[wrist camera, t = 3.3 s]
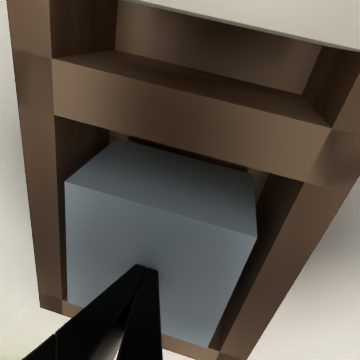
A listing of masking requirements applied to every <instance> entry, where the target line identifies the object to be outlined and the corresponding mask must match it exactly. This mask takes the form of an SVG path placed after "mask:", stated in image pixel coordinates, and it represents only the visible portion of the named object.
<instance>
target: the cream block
mask: <svg viewBox="0 0 360 360" xmlns="http://www.w3.org/2000/svg"><path fill="white" fill-rule="evenodd" d="M123 1H128V2H132V3H137V4H141V5H146V6H150V7H154V8H159V9H163V10H168V11H172V12H177V13H181V14H186V15H190V16H194V17H199V18H203V19H208V20H212V21H217V22H221V23H226V24H230V25H235V26H239V27H243V28H248V29H252V30H257V31H261V32H266V33H270V34H275V35H279V36H283V37H288V38H292V39H297V40H301V41H306V42H310V43H315V44H319V45H323V46H328V47H334V48H339V49H345V50H351V51H356V52H360V0H123Z"/></svg>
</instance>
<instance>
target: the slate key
mask: <svg viewBox="0 0 360 360" xmlns="http://www.w3.org/2000/svg"><path fill="white" fill-rule="evenodd" d="M65 218H66V256H67V293H68V303H71V304H74V305H77V306H80V307H83V308H84V307H85V306H87V305H88V304H89V303H90V302H91V301H92V300H94V299H95V298H96V297H97V296H98V295H100V294H101V293H102V292H103V291H104V290H105V289H107V288H108V287H109V286H110V285H111V284H112V283H114V282H115V281H116V280H117V279H118V278H119V277H121V276H122V275H123V274H124V273H125V272H127V271H128V270H129V269H130V268H131V267H132V266H134V265H135V264H139V265H142V266H145V267H146V268H152V269H155V270H157V271H158V274H159V295H160V315H161V333H162V334H165V335H168V336H171V337H174V338H177V339H180V340H183V341H186V342H189V343H192V344H195V345H198V346H201V347H204V348H208V345H209V343H210V341H211V339H212V337H213V334H214V332H215V330H216V328H217V326H218V323H219V321H220V319H221V317H222V314H223V312H224V310H225V308H226V306H227V303H228V301H229V299H230V297H231V295H232V292H233V290H234V288H235V286H236V283H237V281H238V279H239V277H240V275H241V272H242V270H243V268H244V266H245V264H246V261H247V259H248V257H249V255H250V253H251V250H252V248H253V246H254V244H255V241H256V239H257V224H256V206H255V189H254V175H253V174H249V173H245V172H241V171H238V170H234V169H230V168H227V167H223V166H219V165H216V164H212V163H208V162H205V161H201V160H197V159H193V158H190V157H186V156H182V155H179V154H175V153H171V152H168V151H164V150H160V149H157V148H153V147H149V146H145V145H142V144H138V143H134V142H131V141H127V140H123V139H120V138H117V139H115V140H114V141H113V142H112V143H110V144H109V145H108V146H107V147H106V148H104V149H103V150H102V151H101V152H100V153H98V154H97V155H96V156H95V157H94V158H92V159H91V160H90V161H89V162H88V163H86V164H85V165H84V166H83V167H82V168H80V169H79V170H78V171H77V172H75V173H74V174H73V175H72V176H71V177H69V178H68V179H67V180H66V181H65Z"/></svg>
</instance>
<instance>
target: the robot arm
mask: <svg viewBox="0 0 360 360" xmlns="http://www.w3.org/2000/svg"><path fill="white" fill-rule="evenodd" d="M119 347H120V348H119ZM118 349H119V352H118V356H117V359H116V360H163V356H162V336H161V315H160V295H159V274H158V271H157V270H155V269H152V268H146V267H145V266H142V265H139V264H135V265H134V266H132V267H131V268H130V269H129V270H128V271H127V272H125V273H124V274H123V275H122V276H121V277H119V278H118V279H117V280H116V281H115V282H114V283H112V284H111V285H110V286H109V287H108V288H107V289H105V290H104V291H103V292H102V293H101V294H100V295H98V296H97V297H96V298H95V299H94V300H92V301H91V302H90V303H89V304H88V305H87V306H85V307H84V308H83V309H82V310H81V311H80V312H78V313H77V314H76V315H75V316H74V317H72V318H71V319H70V320H69V321H68V322H67V323H65V324H64V325H63V326H62V327H61V328H60V329H58V330H57V331H56V332H55V334H52V335H51V336H50V337H49V338H48V339H46V340H45V341H44V342H43V343H42V344H41V345H39V346H38V347H37V348H36V349H34V350H33V351H32V352H31V353H29V354H28V355H27V356H26V357H24V358H23V359H22V360H113V359H114V357H115V355H116V353H117V351H118Z"/></svg>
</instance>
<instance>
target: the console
mask: <svg viewBox="0 0 360 360" xmlns="http://www.w3.org/2000/svg"><path fill="white" fill-rule="evenodd" d="M6 1H7V10H8V19H9V28H10V38H11V47H12V56H13V65H14V74H15V83H16V92H17V101H18V110H19V119H20V128H21V137H22V146H23V155H24V164H25V173H26V183H27V192H28V201H29V210H30V219H31V228H32V237H33V246H34V255H35V264H36V273H37V282H38V291H39V300H40V307H41V308H44V309H47V310H50V311H53V312H56V313H59V314H62V315H64V316H67V317H70V318H72V317H74V316H75V315H76V314H77V313H78V312H80V311H81V310H82V309H83V307H80V306H77V305H74V304H71V303H68V293H67V256H66V218H65V181H66V180H67V179H68V178H69V177H71V176H72V175H73V174H74V173H75V172H77V171H78V170H79V169H80V168H82V167H83V166H84V165H85V164H86V163H88V162H89V161H90V160H91V159H92V158H94V157H95V156H96V155H97V154H98V153H100V152H101V151H102V150H103V149H104V148H106V147H107V146H108V145H109V144H110V143H112V142H113V141H114V140H115V139H117V138H120V139H123V140H127V141H131V142H134V143H138V144H142V145H145V146H149V147H153V148H157V149H160V150H164V151H168V152H171V153H175V154H179V155H182V156H186V157H190V158H193V159H197V160H201V161H205V162H208V163H212V164H216V165H219V166H223V167H227V168H230V169H234V170H238V171H241V172H245V173H249V174H253V175H254V189H255V206H256V224H257V239H256V241H255V244H254V246H253V248H252V250H251V253H250V255H249V257H248V259H247V261H246V264H245V266H244V268H243V270H242V272H241V275H240V277H239V279H238V281H237V283H236V286H235V288H234V290H233V292H232V295H231V297H230V299H229V301H228V303H227V306H226V308H225V310H224V312H223V314H222V317H221V319H220V321H219V323H218V326H217V328H216V330H215V332H214V334H213V337H212V339H211V341H210V343H209V345H208V348H204V347H201V346H198V345H195V344H192V343H189V342H186V341H183V340H180V339H177V338H174V337H171V336H168V335H165V334H162V333H161V336H162V348H163V349H166V350H169V351H172V352H175V353H178V354H181V355H184V356H187V357H190V358H193V359H196V360H247V358H248V357H249V355H250V353H251V352H252V350H253V348H254V347H255V345H256V344H257V342H258V340H259V339H260V337H261V335H262V334H263V332H264V330H265V329H266V327H267V326H268V324H269V322H270V321H271V319H272V317H273V316H274V314H275V313H276V311H277V309H278V308H279V306H280V304H281V303H282V301H283V299H284V298H285V296H286V295H287V293H288V291H289V290H290V288H291V286H292V285H293V283H294V282H295V280H296V278H297V277H298V275H299V273H300V272H301V270H302V268H303V267H304V265H305V264H306V262H307V260H308V259H309V257H310V255H311V254H312V252H313V251H314V249H315V247H316V246H317V244H318V242H319V241H320V239H321V237H322V236H323V234H324V233H325V231H326V229H327V228H328V226H329V224H330V223H331V221H332V220H333V218H334V216H335V215H336V213H337V211H338V210H339V208H340V206H341V205H342V203H343V202H344V200H345V198H346V197H347V195H348V193H349V192H350V190H351V188H352V187H353V185H354V184H355V182H356V180H357V179H358V177H359V175H360V52H356V51H351V50H345V49H339V48H334V47H328V46H323V45H319V44H315V43H310V42H306V41H301V40H297V39H292V38H288V37H283V36H279V35H275V34H270V33H266V32H261V31H257V30H252V29H248V28H243V27H239V26H235V25H230V24H226V23H221V22H217V21H212V20H208V19H203V18H199V17H194V16H190V15H186V14H181V13H177V12H172V11H168V10H163V9H159V8H154V7H150V6H146V5H141V4H137V3H132V2H128V1H123V0H6Z"/></svg>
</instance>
